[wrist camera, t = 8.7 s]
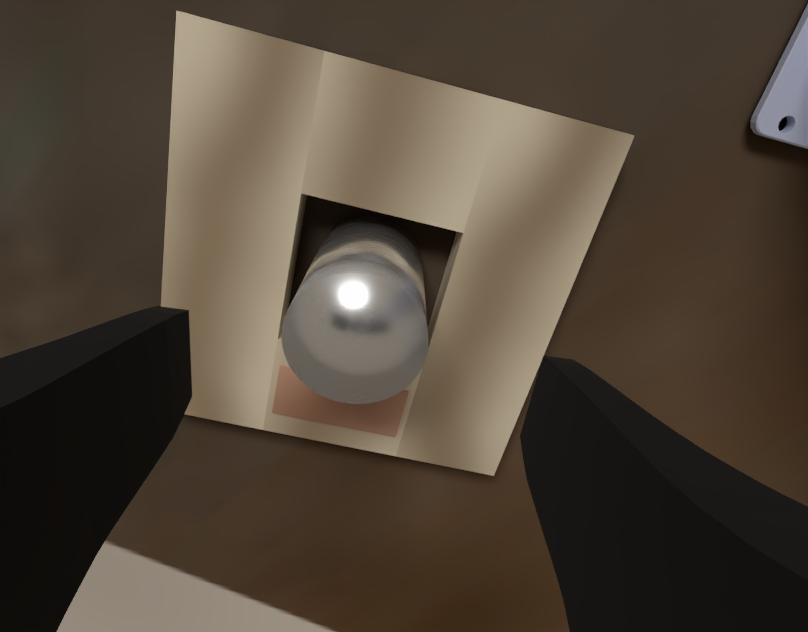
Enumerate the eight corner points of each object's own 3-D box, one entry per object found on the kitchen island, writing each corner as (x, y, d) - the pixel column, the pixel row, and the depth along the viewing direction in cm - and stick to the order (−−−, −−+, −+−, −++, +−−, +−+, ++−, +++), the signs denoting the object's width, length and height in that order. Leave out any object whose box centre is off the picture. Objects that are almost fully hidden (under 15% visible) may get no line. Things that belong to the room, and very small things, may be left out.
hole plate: (616, 130, 17) (635, 136, 16) (488, 452, 23) (494, 477, 22) (196, 16, 16) (175, 10, 15) (171, 387, 22) (154, 410, 20)
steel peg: (428, 221, 19) (436, 281, 13) (417, 320, 20) (420, 409, 15) (317, 211, 19) (280, 267, 13) (315, 311, 20) (282, 398, 15)
